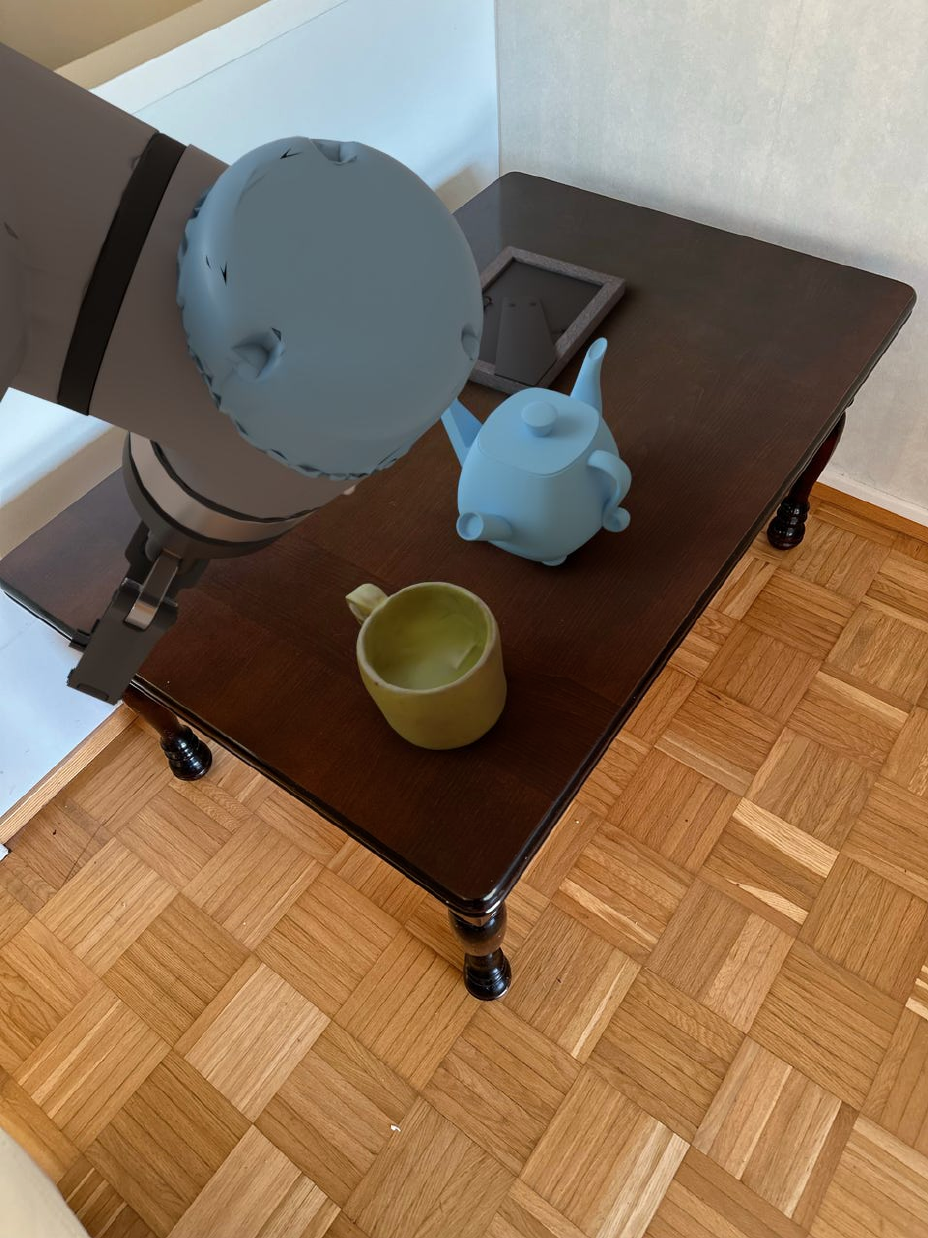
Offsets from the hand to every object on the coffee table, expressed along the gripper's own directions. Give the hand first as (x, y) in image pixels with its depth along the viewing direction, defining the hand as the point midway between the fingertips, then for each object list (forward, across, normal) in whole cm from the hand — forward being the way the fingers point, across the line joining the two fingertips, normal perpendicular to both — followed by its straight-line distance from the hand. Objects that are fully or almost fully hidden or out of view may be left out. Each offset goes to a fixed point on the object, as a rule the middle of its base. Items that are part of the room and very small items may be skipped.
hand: (163, 541), depth 54 cm
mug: (+5, 0, -21) cm, 21 cm away
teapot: (+8, +17, -25) cm, 31 cm away
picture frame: (+19, +39, -21) cm, 48 cm away
